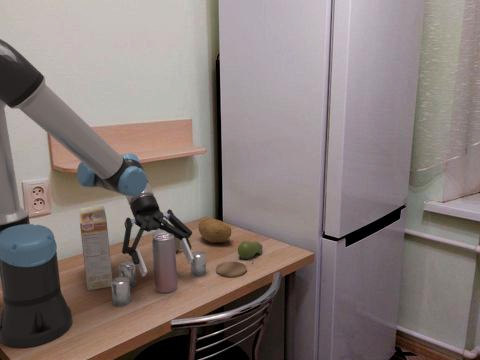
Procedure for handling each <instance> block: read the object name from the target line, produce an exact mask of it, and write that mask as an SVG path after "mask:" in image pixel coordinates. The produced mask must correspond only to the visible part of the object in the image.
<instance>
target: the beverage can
mask: <svg viewBox="0 0 480 360" xmlns="http://www.w3.org/2000/svg"><path fill="white" fill-rule="evenodd" d="M151 243H152V257H153V259H152V260H153V262H152V263H153V272H154V273H153V275H154V288H155V290H156V291H157V292H159V293H162V294H163V293H166V294H167V293H171V292H174V291H175V290H176V288H178V273H177V272H178V271H177V257H176V256H177V255H176V254H177V253H176V252H177V251H176V252H175V239H174V235H173V234H170V233H160V234H156V235H154V236H153V235H152V241H151Z"/></svg>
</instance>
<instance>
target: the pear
mask: <svg viewBox="0 0 480 360" xmlns="http://www.w3.org/2000/svg"><path fill="white" fill-rule="evenodd" d="M262 250H263V244H262V243H260V242H258V241H250V240H249V241H248V240H247V241H244V242H241V243H240V244H239V245H238V247H237V255H239V257H240V258H242V259H246V260H248V259H251V258H252V257H254V256H255V255H256V254H259V255H261V254H262V253H263V251H262Z"/></svg>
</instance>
